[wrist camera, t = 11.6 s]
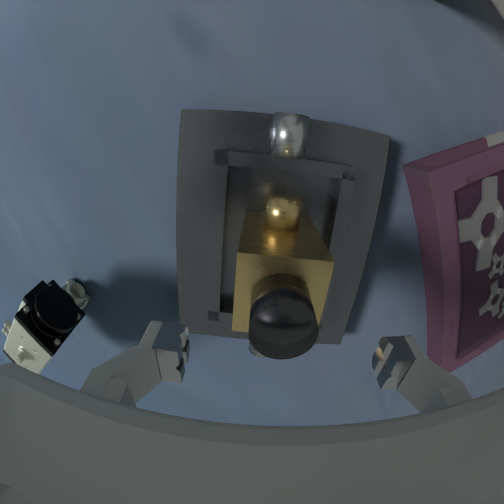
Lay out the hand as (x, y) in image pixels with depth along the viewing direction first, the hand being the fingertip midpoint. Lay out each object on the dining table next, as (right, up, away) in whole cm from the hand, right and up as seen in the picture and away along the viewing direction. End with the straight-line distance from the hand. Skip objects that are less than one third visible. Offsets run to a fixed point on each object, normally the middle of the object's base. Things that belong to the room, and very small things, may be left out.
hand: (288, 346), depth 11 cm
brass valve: (0, +4, +11) cm, 12 cm away
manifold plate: (0, +5, +13) cm, 14 cm away
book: (+24, +4, +14) cm, 28 cm away
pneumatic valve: (-22, -1, +17) cm, 28 cm away
